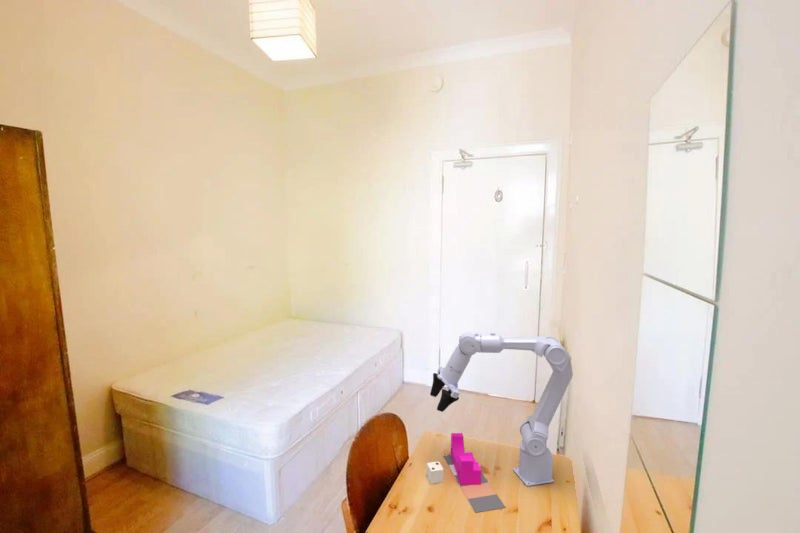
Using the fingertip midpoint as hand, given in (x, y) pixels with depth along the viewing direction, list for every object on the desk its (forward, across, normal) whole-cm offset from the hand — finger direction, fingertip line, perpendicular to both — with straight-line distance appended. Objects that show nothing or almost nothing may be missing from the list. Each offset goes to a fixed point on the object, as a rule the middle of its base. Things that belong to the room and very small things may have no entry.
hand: (436, 402), depth 112 cm
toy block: (+15, +8, +16) cm, 23 cm away
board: (+14, +13, +16) cm, 24 cm away
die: (+18, +10, +6) cm, 22 cm away
